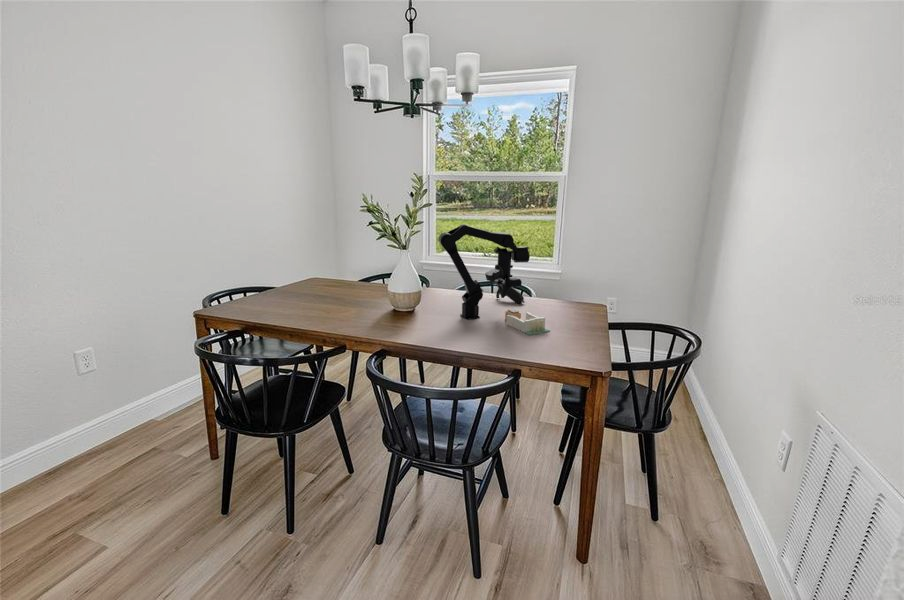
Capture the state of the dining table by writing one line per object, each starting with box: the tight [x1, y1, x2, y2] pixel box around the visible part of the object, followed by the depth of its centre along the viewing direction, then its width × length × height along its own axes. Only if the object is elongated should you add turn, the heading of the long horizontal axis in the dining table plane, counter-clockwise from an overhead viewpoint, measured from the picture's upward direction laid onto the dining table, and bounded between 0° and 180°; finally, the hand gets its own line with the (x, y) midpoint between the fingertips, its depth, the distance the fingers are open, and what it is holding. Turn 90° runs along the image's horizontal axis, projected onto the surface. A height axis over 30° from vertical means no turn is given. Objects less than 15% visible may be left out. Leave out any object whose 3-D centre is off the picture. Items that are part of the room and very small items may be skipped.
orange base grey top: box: [504, 308, 522, 321], centre depth 179 cm, size 4×5×5 cm
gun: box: [495, 284, 526, 305], centre depth 208 cm, size 3×16×10 cm, turn 53°
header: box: [506, 311, 551, 336], centre depth 170 cm, size 11×15×5 cm
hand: (502, 297), depth 184 cm, fingers closed
